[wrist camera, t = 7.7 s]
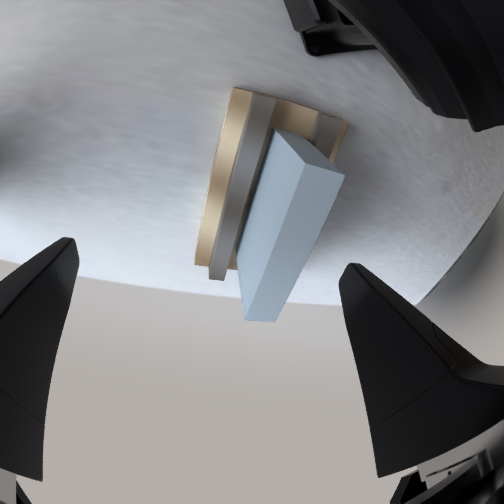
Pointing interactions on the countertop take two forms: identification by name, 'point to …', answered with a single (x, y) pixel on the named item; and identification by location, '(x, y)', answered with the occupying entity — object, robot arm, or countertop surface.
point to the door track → (251, 167)
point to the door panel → (283, 221)
